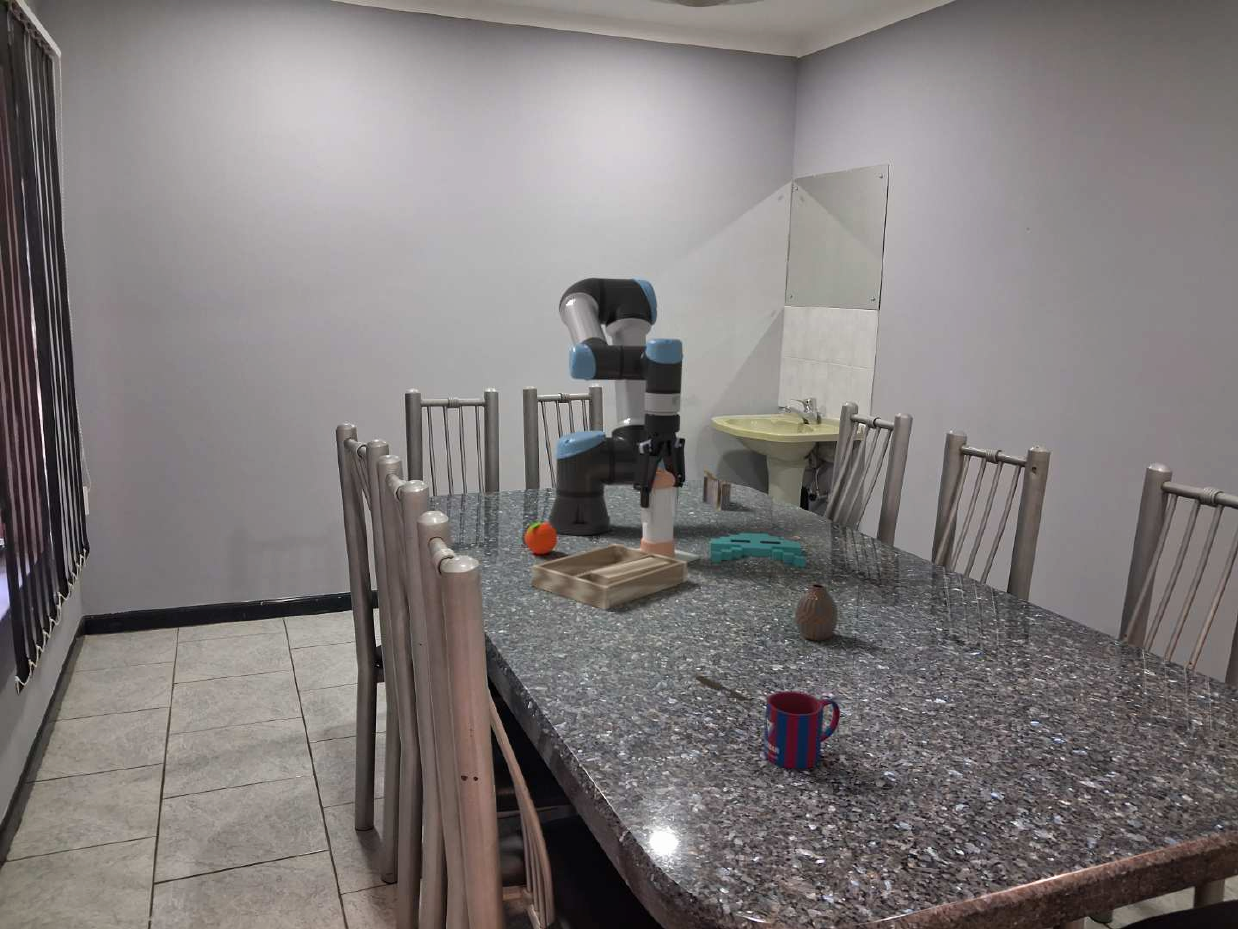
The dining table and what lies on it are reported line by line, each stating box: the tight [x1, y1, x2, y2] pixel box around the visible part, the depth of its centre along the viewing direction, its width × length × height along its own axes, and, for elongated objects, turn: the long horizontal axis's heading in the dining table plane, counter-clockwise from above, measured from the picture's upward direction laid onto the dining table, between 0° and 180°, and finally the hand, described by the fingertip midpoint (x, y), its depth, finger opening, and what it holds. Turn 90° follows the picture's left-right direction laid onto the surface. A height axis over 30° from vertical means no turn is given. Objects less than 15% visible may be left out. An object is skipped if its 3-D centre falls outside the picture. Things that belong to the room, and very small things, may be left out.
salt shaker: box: [640, 467, 676, 558], centre depth 192 cm, size 7×7×19 cm
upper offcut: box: [590, 557, 669, 586], centre depth 171 cm, size 5×16×2 cm, turn 133°
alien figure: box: [710, 532, 807, 568], centre depth 201 cm, size 20×2×20 cm
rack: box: [530, 543, 688, 611], centre depth 175 cm, size 19×24×4 cm
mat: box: [637, 547, 701, 563], centre depth 194 cm, size 13×13×1 cm
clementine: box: [524, 521, 558, 555], centre depth 194 cm, size 8×7×7 cm
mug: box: [763, 691, 841, 770], centre depth 109 cm, size 7×10×7 cm
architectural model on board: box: [702, 469, 732, 511], centre depth 246 cm, size 11×3×10 cm, turn 20°
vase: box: [794, 583, 839, 641], centre depth 149 cm, size 7×7×9 cm
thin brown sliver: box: [695, 674, 751, 702], centre depth 128 cm, size 12×3×1 cm, turn 34°
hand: (658, 519), depth 192 cm, fingers open, 7 cm apart
